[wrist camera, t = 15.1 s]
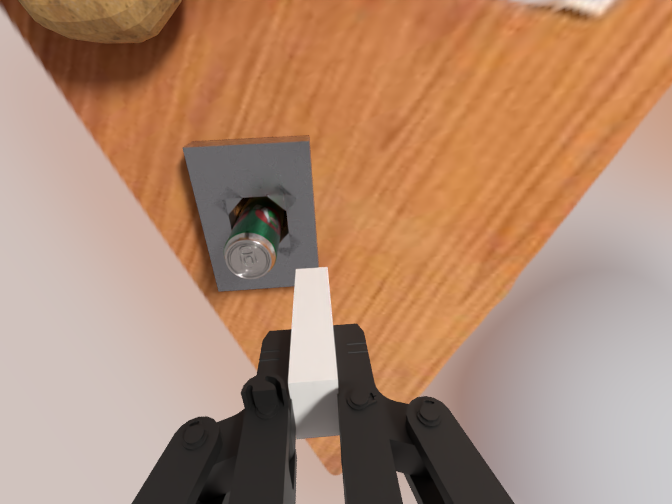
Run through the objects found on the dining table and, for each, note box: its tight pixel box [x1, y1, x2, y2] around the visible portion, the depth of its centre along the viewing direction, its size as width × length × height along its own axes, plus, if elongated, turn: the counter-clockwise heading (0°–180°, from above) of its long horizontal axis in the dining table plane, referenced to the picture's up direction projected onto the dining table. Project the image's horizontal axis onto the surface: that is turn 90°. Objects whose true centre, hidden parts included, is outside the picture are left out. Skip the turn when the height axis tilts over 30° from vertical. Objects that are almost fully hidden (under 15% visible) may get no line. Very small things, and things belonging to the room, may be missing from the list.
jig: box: [183, 135, 319, 292], centre depth 40 cm, size 18×13×4 cm
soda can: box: [224, 196, 284, 279], centre depth 37 cm, size 5×5×12 cm
